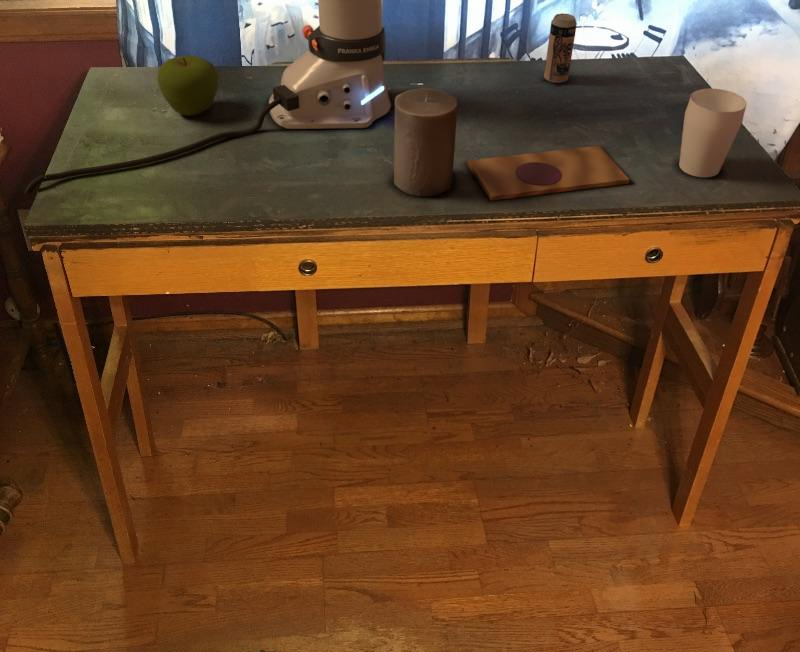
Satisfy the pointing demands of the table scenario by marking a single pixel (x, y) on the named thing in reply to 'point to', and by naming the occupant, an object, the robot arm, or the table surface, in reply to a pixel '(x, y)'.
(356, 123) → the robot arm
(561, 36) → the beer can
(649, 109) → the table surface
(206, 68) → the apple
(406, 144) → the pillar candle
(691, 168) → the cup
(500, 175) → the wooden board
